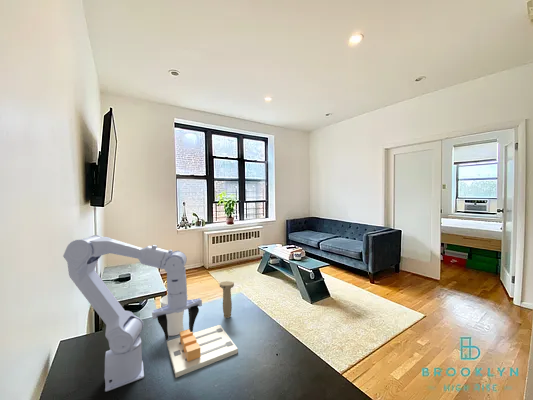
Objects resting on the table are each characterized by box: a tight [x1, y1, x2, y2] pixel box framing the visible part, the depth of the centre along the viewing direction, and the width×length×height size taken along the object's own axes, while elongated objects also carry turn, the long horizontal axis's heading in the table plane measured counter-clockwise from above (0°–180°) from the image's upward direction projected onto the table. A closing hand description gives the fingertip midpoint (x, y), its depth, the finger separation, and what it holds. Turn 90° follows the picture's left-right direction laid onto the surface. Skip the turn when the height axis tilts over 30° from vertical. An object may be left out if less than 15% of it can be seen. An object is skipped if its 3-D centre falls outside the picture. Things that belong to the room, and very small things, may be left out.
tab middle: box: [182, 335, 197, 353], centre depth 78 cm, size 4×3×3 cm
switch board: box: [166, 324, 239, 379], centre depth 80 cm, size 20×18×2 cm
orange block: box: [185, 343, 201, 361], centre depth 74 cm, size 4×3×3 cm
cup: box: [159, 294, 189, 337], centre depth 92 cm, size 10×10×14 cm
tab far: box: [179, 328, 194, 345], centre depth 83 cm, size 4×3×3 cm
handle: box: [219, 280, 235, 319], centre depth 102 cm, size 5×6×15 cm
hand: (179, 334), depth 72 cm, fingers open, 7 cm apart
